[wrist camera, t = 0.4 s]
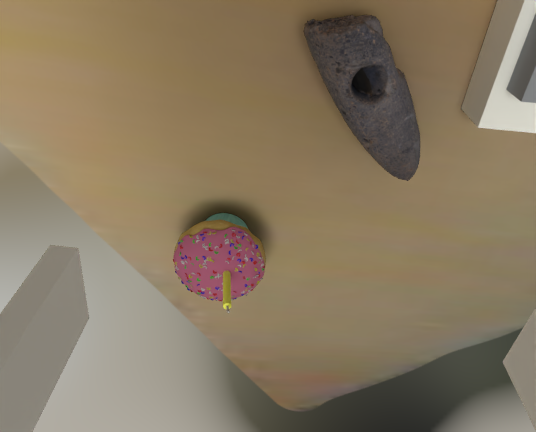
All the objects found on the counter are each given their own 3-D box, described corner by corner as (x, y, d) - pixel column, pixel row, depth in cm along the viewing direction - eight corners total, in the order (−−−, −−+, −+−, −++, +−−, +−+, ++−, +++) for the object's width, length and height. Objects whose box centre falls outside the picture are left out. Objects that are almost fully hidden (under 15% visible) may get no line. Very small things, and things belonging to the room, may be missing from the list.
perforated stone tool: (428, 147, 39) (452, 187, 34) (371, 172, 41) (384, 214, 35) (361, -22, 32) (377, -8, 27) (296, 16, 34) (297, 37, 28)
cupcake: (231, 181, 42) (214, 264, 32) (285, 241, 46) (284, 332, 36) (165, 225, 45) (130, 313, 35) (220, 278, 49) (202, 371, 39)
